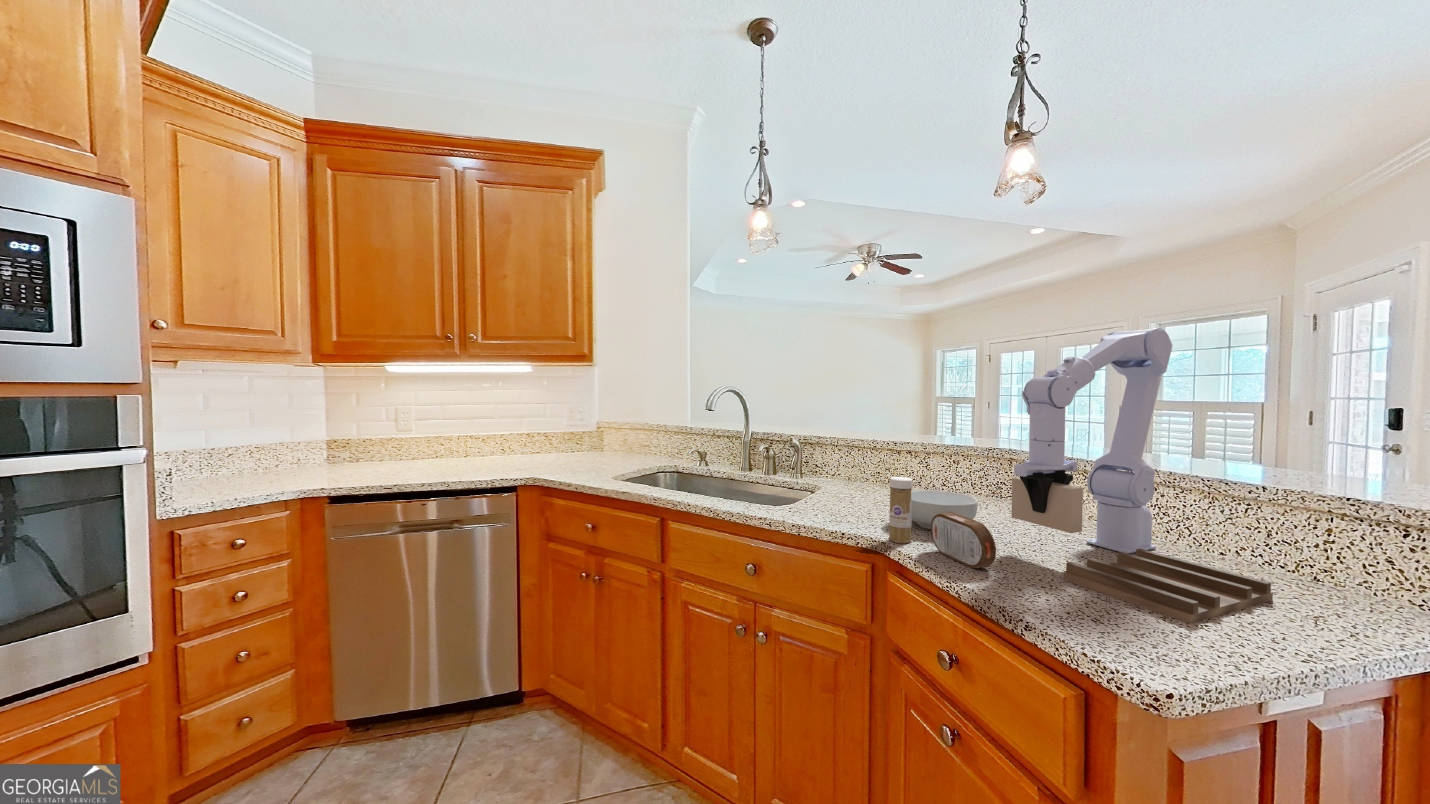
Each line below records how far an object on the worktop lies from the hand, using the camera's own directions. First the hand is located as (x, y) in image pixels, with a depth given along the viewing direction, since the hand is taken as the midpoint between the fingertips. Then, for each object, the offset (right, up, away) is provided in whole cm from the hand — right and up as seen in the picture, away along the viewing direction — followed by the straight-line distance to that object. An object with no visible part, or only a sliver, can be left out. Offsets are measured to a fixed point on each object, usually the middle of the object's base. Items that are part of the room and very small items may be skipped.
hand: (1045, 511), depth 101 cm
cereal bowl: (-11, -8, +23) cm, 27 cm away
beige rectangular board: (0, -3, 0) cm, 3 cm away
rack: (+9, -10, -15) cm, 20 cm away
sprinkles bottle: (-24, -9, +11) cm, 28 cm away
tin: (-17, -9, -1) cm, 19 cm away
